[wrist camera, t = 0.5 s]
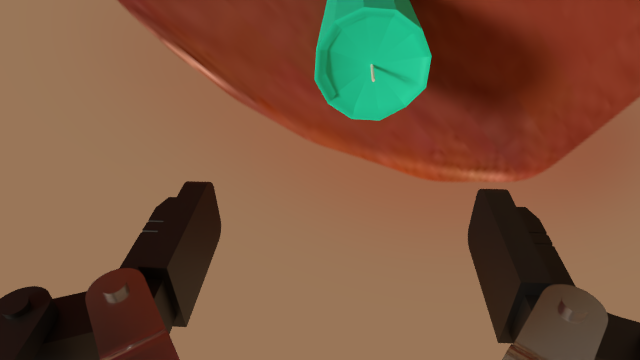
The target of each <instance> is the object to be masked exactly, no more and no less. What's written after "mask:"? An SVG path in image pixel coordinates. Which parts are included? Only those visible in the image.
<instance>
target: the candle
mask: <svg viewBox="0 0 640 360" xmlns="http://www.w3.org/2000/svg"><path fill="white" fill-rule="evenodd" d="M431 58H432V55H431V53H430V50H429V47H428V44H427V41H426V38H425V36H424V33H423V30H422V28H421V25H420V23H419V21H418V19H417V16H416V14H415V12H414V10H413V7H412V5H411V3H410V1H409V0H327V4H326V8H325V12H324V17H323V21H322V26H321V30H320V35H319V39H318V44H317V48H316V64H315V82H316V83H317V85H318V87H319V89H320V90H321V92H322V94H323V96H324V97H325V99H326V101H327V103H328V104H330V105H331V106H333V107H334V108H336V109H337V110H339V111H340V112H342V113H343V114H345V115H346V116H348V117H349V118H351V119H362V120H379V121H380V120H382V119H383V118H385V117H387V116H389V115H391V114H393V113H395V112H397V111H399V110H401V109H403V108H405V107H406V106H407V105H408V104H409V103H410V102H412V101H413V100H414V99H415V98H416V97H417V96H418V95H419V94H420V93H421V92H422V91H423V90H424V89H425V88H426V85H427V80H428V74H429V69H430V63H431Z"/></svg>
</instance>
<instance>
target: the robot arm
mask: <svg viewBox="0 0 640 360" xmlns="http://www.w3.org/2000/svg"><path fill="white" fill-rule="evenodd" d="M220 233H221V221H220V215H219V210H218V206H217V200H216V195H215V191H214V186H213V184H212V183H211V182H189V181H188V182H186V183H185V184H184V185H183V187H182V189H181V190H180V192H179V194H178V196H177V197H169V198H168V199H166V200H165V201H164V202H162V203H161V204H160V205H159V206H157V207H156V208H155V210H154V212H153V213H152V215H151V217H150V218H149V222H148V223H146V225H145V227H144V228H143V232H142V233H140V235H139V237H138V238H137V240H136V242H135V243H134V245H133V246H132V248H131V250H130V252H129V253H128V255H127V257H126V258H125V260H124V261H123V263H122V265H121V267H120V268H119V269H116V270H113V271H110V272H108V273H106V274H104V275H102V276H101V277H99V278H98V279H96V280H95V281H94V282H93V283H92V284H91V286H90V287H89V289H88V290H87V291H86V292H82V293H78V294H73V295H69V296H64V297H60V298H55V299H52V297H51V296H50V294H49V292H48V291H47V290H46V289H44V288H42V287H35V286H34V287H33V286H32V287H25V288H21V289H18V290H15V291H13V292H11V293H9V294H7V295H5V296H4V297H2V298H1V299H0V360H180V359H179V357H178V355H177V352H176V350H175V347H174V345H173V343H172V340H171V338H170V336H169V334H170V331H171V329H172V326H178V327H186V326H187V324H188V321H189V319H190V316H191V313H192V311H193V308H194V305H195V303H196V300H197V297H198V295H199V292H200V289H201V287H202V284H203V281H204V278H205V276H206V273H207V270H208V268H209V265H210V263H211V260H212V257H213V254H214V252H215V249H216V247H217V244H218V241H219V238H220ZM468 245H469V249H470V253H471V256H472V259H473V263H474V266H475V269H476V272H477V275H478V279H479V282H480V285H481V289H482V291H483V295H484V298H485V302H486V305H487V308H488V311H489V314H490V318H491V321H492V324H493V327H494V330H495V334H496V337H497V341H498V343H513V345H511V346H510V347H509V349H508V350H507V352H506V354H505V356H504V358H503V359H502V360H640V323H639V322H636V321H632V320H628V319H625V318H621V317H618V316H615V315H612V314H609V313H607V312H606V310H605V308H604V307H603V305H602V304H601V303H600V302H599V301H598V300H597V299H596V298H595V297H594V296H592V295H591V294H589V293H588V292H586V291H584V290H582V289H580V288H577V287H576V286H575V285H574V283H573V281H572V279H571V277H570V275H569V273H568V272H567V270H566V268H565V266H564V264H563V262H562V260H561V259H560V257H559V255H558V253H557V251H556V250H555V247H553V246H552V242H551V240H550V238H549V236H548V235H546V231H545V229H544V227H543V225H542V223H541V222H540V220H539V219H538V218H537V217H536V216H535V215H534V214H533V213H532V212H530V211H529V210H528V209H527V208H526V207H516V206H515V204H514V201H513V200H512V197H511V195H510V193H509V192H508V190H503V189H480V190H479V191H478V193H477V196H476V200H475V204H474V208H473V212H472V216H471V220H470V225H469V229H468Z"/></svg>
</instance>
